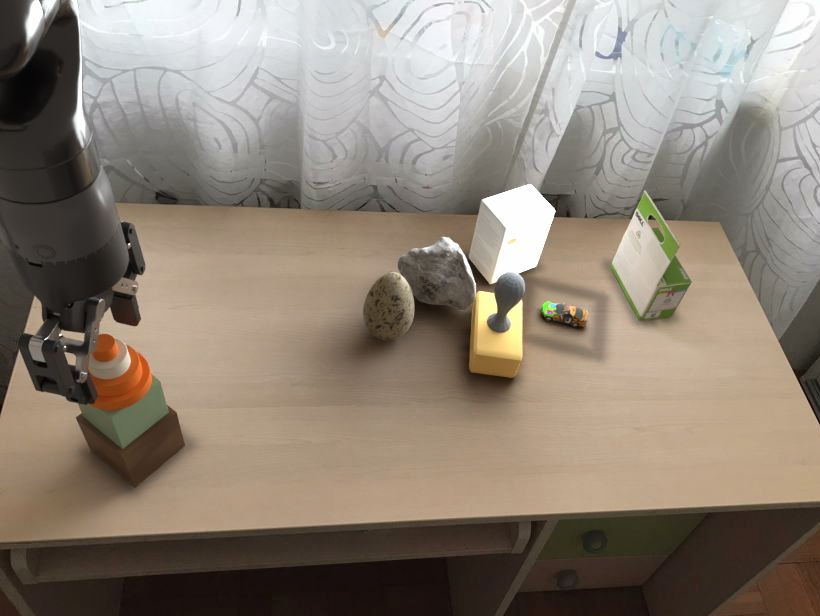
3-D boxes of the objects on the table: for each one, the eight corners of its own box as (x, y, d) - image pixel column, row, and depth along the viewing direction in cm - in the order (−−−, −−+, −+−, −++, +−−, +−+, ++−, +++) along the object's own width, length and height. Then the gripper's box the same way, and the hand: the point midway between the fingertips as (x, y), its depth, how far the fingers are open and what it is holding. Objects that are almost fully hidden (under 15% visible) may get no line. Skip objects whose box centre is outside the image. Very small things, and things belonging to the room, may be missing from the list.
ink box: (672, 318, 100) (717, 243, 89) (638, 323, 98) (679, 247, 87) (641, 262, 106) (679, 185, 95) (607, 266, 104) (642, 188, 93)
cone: (111, 422, 65) (96, 384, 60) (64, 384, 66) (46, 344, 62) (166, 380, 68) (156, 341, 63) (120, 344, 70) (108, 304, 65)
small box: (514, 241, 104) (531, 182, 96) (537, 267, 102) (557, 209, 93) (466, 257, 101) (480, 198, 92) (489, 285, 98) (505, 227, 90)
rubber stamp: (471, 309, 95) (489, 241, 86) (516, 315, 96) (538, 249, 86) (468, 371, 89) (487, 306, 80) (516, 378, 89) (540, 314, 80)
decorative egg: (377, 305, 93) (384, 248, 85) (419, 327, 92) (429, 271, 84) (351, 336, 89) (356, 280, 82) (394, 359, 88) (403, 304, 80)
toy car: (541, 304, 97) (544, 295, 96) (586, 315, 98) (590, 306, 96) (539, 319, 96) (542, 310, 94) (584, 330, 96) (588, 321, 94)
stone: (398, 321, 92) (406, 265, 84) (392, 280, 96) (399, 223, 88) (471, 319, 94) (486, 264, 86) (462, 279, 98) (476, 223, 90)
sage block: (122, 449, 69) (110, 418, 65) (83, 417, 70) (69, 384, 66) (169, 412, 72) (160, 380, 68) (130, 381, 73) (119, 348, 69)
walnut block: (134, 488, 74) (122, 456, 69) (90, 451, 75) (75, 417, 70) (185, 445, 77) (177, 412, 72) (142, 410, 79) (131, 375, 74)
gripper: (55, 146, 56) (100, 290, 69) (-55, 280, 47) (21, 418, 60) (154, 168, 56) (181, 308, 69) (64, 306, 47) (114, 438, 60)
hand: (107, 359), depth 64 cm, fingers open, 8 cm apart
